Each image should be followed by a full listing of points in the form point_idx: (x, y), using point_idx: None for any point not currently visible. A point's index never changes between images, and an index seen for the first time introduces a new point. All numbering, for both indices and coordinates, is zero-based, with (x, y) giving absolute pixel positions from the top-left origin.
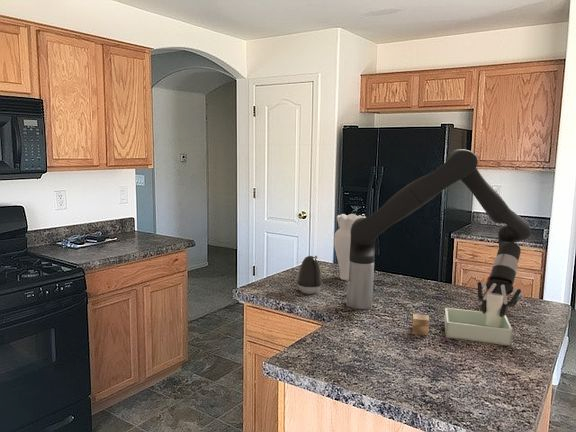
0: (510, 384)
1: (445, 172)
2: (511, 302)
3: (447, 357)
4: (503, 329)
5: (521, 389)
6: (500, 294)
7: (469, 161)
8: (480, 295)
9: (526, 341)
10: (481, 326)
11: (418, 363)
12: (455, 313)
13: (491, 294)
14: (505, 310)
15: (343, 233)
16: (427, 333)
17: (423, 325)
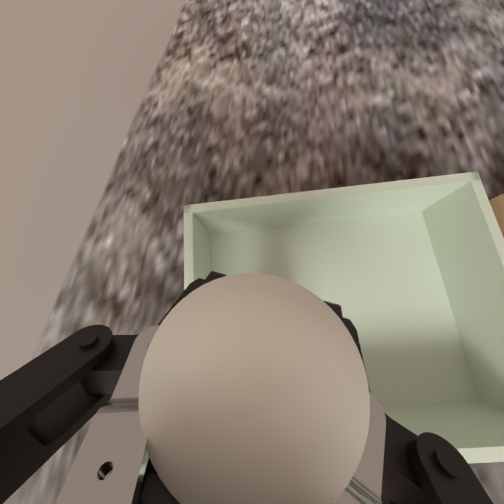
0: (232, 16)
1: None
2: (95, 330)
3: (381, 70)
4: (221, 202)
5: (214, 8)
6: (167, 467)
7: None
8: (441, 473)
9: (146, 298)
10: (315, 192)
11: (440, 12)
12: (477, 428)
13: (305, 393)
14: (182, 294)
15: None
16: (498, 196)
17: None
